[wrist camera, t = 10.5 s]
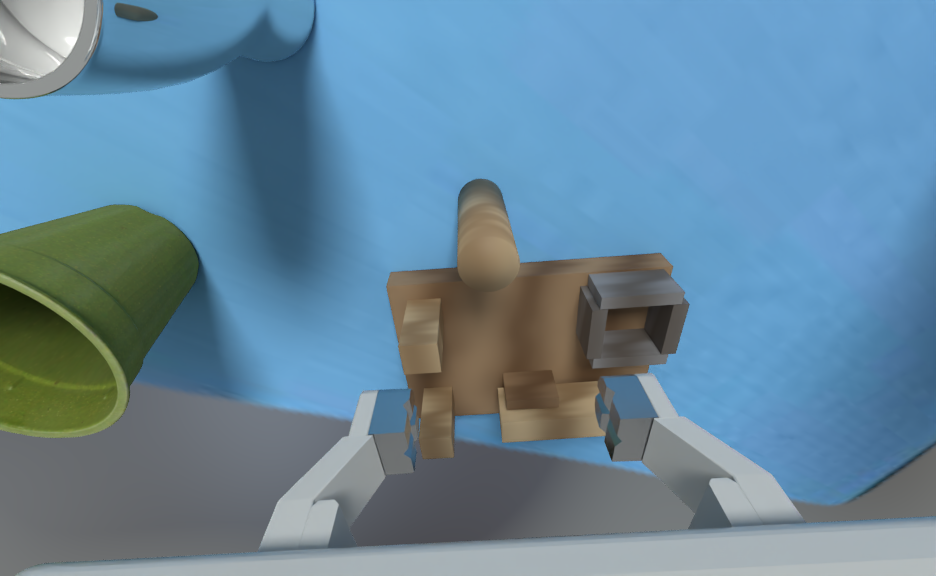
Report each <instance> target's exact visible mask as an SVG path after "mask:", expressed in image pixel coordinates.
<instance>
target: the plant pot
mask: <svg viewBox="0 0 936 576" xmlns="http://www.w3.org/2000/svg"><path fill="white" fill-rule="evenodd" d="M198 267H199V262H198V258H197V255H196V252H195V250H194V248H193V246H192V244H191V243H190V241H189V240H188V239H187V238H186V236H185V235H184V234H183V233H182V232H181V231H180V230H179V229H178V228H177V227H176V226H175V225H173V224H172V223H171V222H169V221H168V220H166V219H165V218H163V217H160V216H157V215H154V214H151V213H149V212H147V211H145V210H143V209H141V208H139V207H137V206H132V205H109V206H105V207H101V208H97V209H93V210H90V211H86V212H82V213H79V214H75V215H71V216H67V217H63V218H60V219H56V220H52V221H48V222H44V223H40V224H37V225H33V226H29V227H25V228H21V229H17V230H14V231H10V232H6V233H2V234H0V430H3V431H7V432H12V433H19V434H24V435H29V436H36V437H47V438H48V437H49V438H61V437H79V436H84V435H89V434H93V433H97V432H99V431H102V430H104V429H106V428H108V427H110V426H111V425H112V424H114V423H115V422H116V421H118V419H120V418H121V416H122V415H123V413H124V412H125V410H126V408H127V405H128V402H129V398H130V385H131V384H132V382H133V381H134V379H135V377H136V376H137V374H138V373H139V371H140V369H141V367H142V364H143V359H144V357H145V356H146V354H147V353H148V351H149V350H150V348H151V347H152V345H153V344H154V342H155V341H156V339H157V338H158V336H159V335H160V333H161V332H162V330H163V329H164V327H165V326H166V324H167V323H168V321H169V320H170V318H171V317H172V315H173V314H174V312H175V311H176V309H177V308H178V306H179V305H180V303H181V302H182V301H183V299H184V298H185V296H186V295H187V293H188V292H189V290H190V289H191V287H192V286H193V284H194V283H195V281H196V278H197V273H198Z"/></svg>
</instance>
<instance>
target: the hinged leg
mask: <svg viewBox="0 0 936 576" xmlns="http://www.w3.org/2000/svg"><path fill="white" fill-rule="evenodd" d="M597 384H598V381H591V382H576V383H562V384H556V388H557V391H558V395H559V407H551V408H535V409H519V410H507V408H506V400H505V392H504V388H498V404H499V415H500V425H501V434H502V443H505V442H520V441H535V440H550V439H566V438H581V437H596V436H605V435H606V433H605V432H604V431H603V430H602V429H600V428H599V425H598V422H597V418H596V414H595V397H596V395H597V394H599V393H600V392H599V389H598V387H597Z"/></svg>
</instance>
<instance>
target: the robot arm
mask: <svg viewBox="0 0 936 576" xmlns="http://www.w3.org/2000/svg"><path fill="white" fill-rule="evenodd" d="M597 387H598V389H599V392H600V393H599V394H597V395H596V397H595V414H596V418H597V422H598V425H599V428H600V429H602V430H603V431H604V432H605V433H606V435H605V444H606V447H607V450H608V452H609V455H610V458H611V460H612V461H642V463H643V464H644V465H645V466H646V467H647V468H648V469H650V470H651V471H652V472H653V473H654V474H655V475H656V476H657V477H658V478H659V479H660V480H661V481H662V482H663V483H664V484H665V485H666V486H667V487H668V488H669V489H670V490H671V491H672V492H673V493H674V494H675V495H676V496H677V497H679V498H680V499H681V500H682V501H683V502H684V503H685V504H686V505H687V506H688V507H689V508H690V509H691V510H692V511H693V512H694V513H695V515H694V517H693V519H692V522H691V524H690V526H689V528H688V529H687V530H668V531H649V532H632V533H631V532H630V533H613V534H612V533H611V534H592V535H574V536H555V537H536V538H518V539H499V540H481V541H462V542H445V543H426V544H425V543H424V544H407V545H406V544H405V545H386V546H368V547H358V546H357V544H356V542H355V540H354V538H353V535H352V533H351V531H350V527H351V525H352V524H353V523H354V521H355V520H356V518H357V517H358V515H359V514H360V513H361V511H362V510H363V508H364V507H365V506H366V504H367V503H368V501H369V500H370V498H371V497H372V496H373V494H374V493H375V491H376V490H377V488H378V487H379V486H380V484H381V482H382V481H383V480H384V478H385V475H393V474H406V473H414V471H415V462H416V453H417V452H416V447H415V442H416V441H417V439H418V433H419V417H418V410H417V407H416V406H415V405H414V401H415V395H414V391H413V389H387V390H368V391H363V392H362V393H361V394H360V397H359V400H358V404H357V407H356V411H355V414H354V418H353V421H352V425H351V428H350V432H349V435H348V437H343V438H342V439H341V440H340V441H339V442H338V443H337V444H336V445H335V446H333V447H332V449H331V450H329V451H328V452H327V453H326V454H325V455H324V456H323V458H321V460H319V461H318V462H317V463H316V464H315V465H314V466H313V467H312V468H311V469H310V470H309V471H308V472H307V473H306V474H305V475H304V476H303V477H302V478H301V479H300V480H299V481H298V482H297V483H296V484H295V485H294V486H293V487H292V488H291V489H290V490H289V491H288V492H287V493H286V494H285V495H284V496H283V497H282V498H281V499H280V500H279V501H278V503H277V505H276V508H275V510H274V513H273V515H272V518H271V520H270V522H269V525H268V527H267V530H266V532H265V535H264V538H263V540H262V543H261V545H260V548H259V550H258V552H253V553H233V554H214V555H195V556H176V557H157V558H137V559H120V560H101V561H100V560H99V561H79V562H55V563H44V564H39V565H35V566H32V567H29V568H27V569H25V570H23V571H21V572H20V573H18V574H16V575H15V576H936V516H932V517H913V518H894V519H875V520H858V521H838V522H821V523H820V522H819V523H806V522H805V520H804V519H803V518H802V516H801V515H800V513H799V512H798V511H797V509H796V508H795V506H794V505H793V504H792V502H791V501H790V499H789V498H788V497H787V495H786V494H785V493H784V491H783V490H782V488H781V487H780V486H779V484H778V483H777V481H776V480H775V479H774V477H773V476H772V474H770V473H769V472H767V471H766V470H764V469H763V468H761V467H760V466H758V465H757V464H755V463H754V462H752V461H751V460H749V459H748V458H746V457H745V456H743V455H742V454H740V453H739V452H737V451H736V450H734V449H733V448H731V447H730V446H728V445H726V444H725V443H723V442H722V441H720V440H719V439H717V438H716V437H714V436H713V435H711V434H710V433H708V432H707V431H705V430H704V429H702V428H701V427H699V426H698V425H696V424H695V423H693V422H692V421H690V420H689V419H687V418H686V417H679V416H678V414H677V412H676V411H675V409H674V407H673V406H672V404H671V402H670V401H669V399H668V397H667V396H666V394H665V392H664V391H663V389H662V387H661V385H660V384H659V382H658V380H657V379H656V377H655V375H653V374H652V373H643V374H634V375H633V374H627V375H614V376H600V377H599V379H598V384H597Z"/></svg>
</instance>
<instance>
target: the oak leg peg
mask: <svg viewBox="0 0 936 576" xmlns="http://www.w3.org/2000/svg"><path fill="white" fill-rule="evenodd" d="M457 268H458V273H459V275H460V277H461V279H462V280H463V282H464V283H465V284H466V285H468V286H469V287H471V288H472V289H474V290H477V291H481V292H494V291H498V290H501V289H503V288H505V287H506V286H508V285H509V284H510V283H512V281H513V280H514V279H515V278H516V276H517V274H518V272H519V268H520V259H519V255H518V252H517V248H516V244H515V241H514V237H513V233H512V230H511V226H510V222H509V219H508V215H507V211H506V208H505V204H504V200H503V197H502V193H501V191H500V189H499V188H498V186H497V185H496V184H495V183H493V182H492V181H489V180H486V179H475V180H472V181H470V182H468V183H467V184H466V185H465V186H464V187H463V188H462V189H461V191H460V193H459V197H458V256H457Z"/></svg>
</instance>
